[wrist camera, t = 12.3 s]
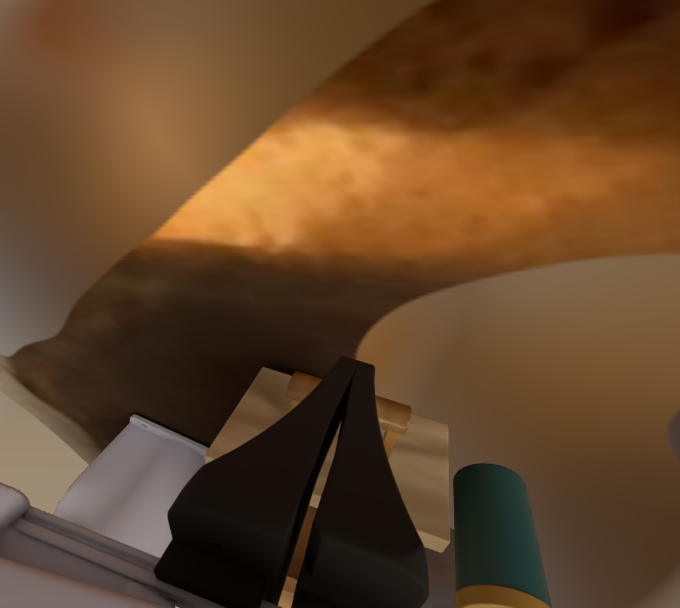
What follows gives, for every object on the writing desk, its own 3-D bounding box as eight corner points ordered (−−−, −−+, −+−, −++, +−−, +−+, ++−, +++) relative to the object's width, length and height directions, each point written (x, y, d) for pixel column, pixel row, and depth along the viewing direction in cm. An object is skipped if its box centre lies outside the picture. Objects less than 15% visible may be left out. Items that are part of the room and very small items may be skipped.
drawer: (265, 315, 21) (198, 399, 15) (473, 376, 19) (486, 495, 13) (257, 477, 30) (214, 564, 25) (394, 526, 29) (383, 631, 23)
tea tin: (442, 491, 26) (442, 625, 20) (466, 453, 24) (475, 594, 17) (509, 514, 26) (531, 659, 19) (541, 477, 23) (581, 633, 16)
